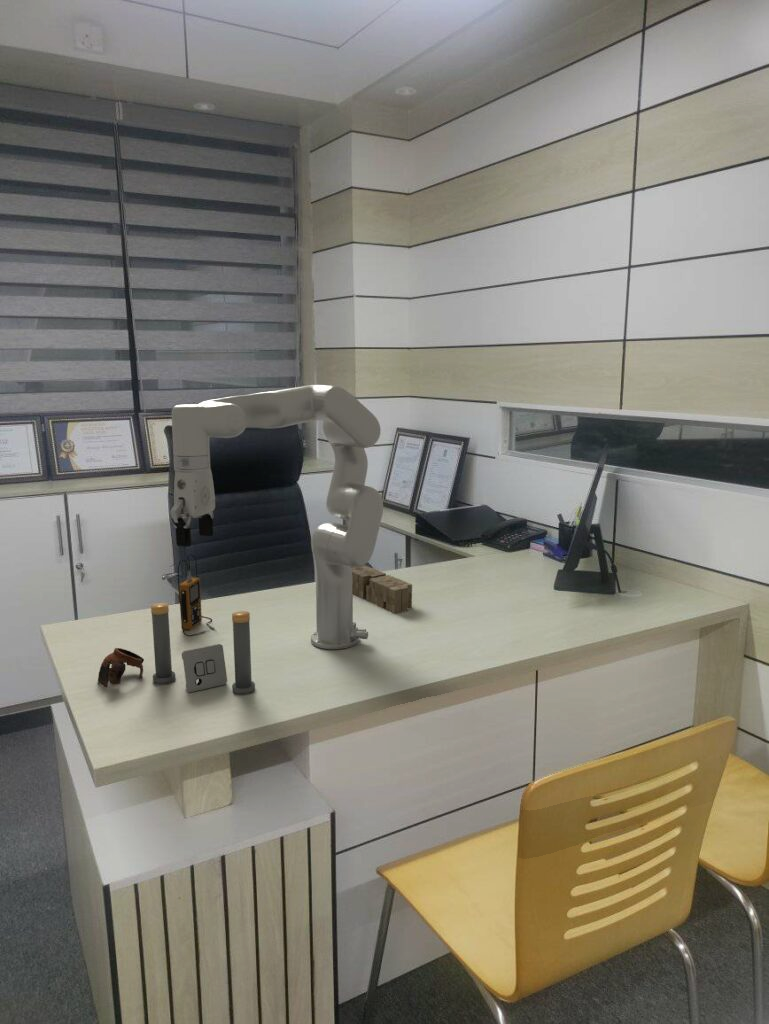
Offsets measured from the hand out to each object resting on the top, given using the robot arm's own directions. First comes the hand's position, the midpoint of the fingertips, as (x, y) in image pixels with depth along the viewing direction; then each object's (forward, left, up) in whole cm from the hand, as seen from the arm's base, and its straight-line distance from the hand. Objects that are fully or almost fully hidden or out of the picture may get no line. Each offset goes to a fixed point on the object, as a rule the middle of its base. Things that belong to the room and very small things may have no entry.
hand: (195, 540), depth 162 cm
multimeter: (+17, -33, -34) cm, 51 cm away
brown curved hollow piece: (+19, +3, -34) cm, 40 cm away
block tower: (-22, -69, -34) cm, 80 cm away
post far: (+10, 0, -34) cm, 35 cm away
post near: (-10, 0, -34) cm, 35 cm away
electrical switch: (0, 0, -34) cm, 34 cm away
